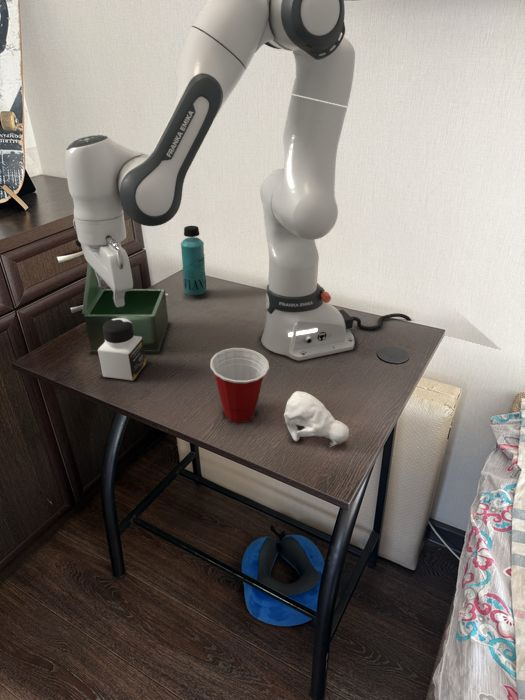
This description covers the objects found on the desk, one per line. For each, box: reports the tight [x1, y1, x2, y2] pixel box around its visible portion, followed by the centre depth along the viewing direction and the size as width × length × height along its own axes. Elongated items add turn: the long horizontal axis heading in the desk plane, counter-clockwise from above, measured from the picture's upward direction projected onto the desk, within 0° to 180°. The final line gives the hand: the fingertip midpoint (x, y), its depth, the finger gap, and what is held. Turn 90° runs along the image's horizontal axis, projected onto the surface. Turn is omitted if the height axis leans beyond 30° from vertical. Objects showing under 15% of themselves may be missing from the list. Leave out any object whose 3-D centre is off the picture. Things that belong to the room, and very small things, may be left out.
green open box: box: [84, 288, 169, 354], centre depth 120 cm, size 16×15×10 cm
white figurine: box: [283, 390, 350, 448], centre depth 90 cm, size 6×8×12 cm
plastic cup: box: [210, 347, 270, 423], centre depth 94 cm, size 11×11×12 cm
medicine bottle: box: [97, 318, 147, 381], centre depth 107 cm, size 7×7×12 cm
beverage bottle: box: [180, 225, 207, 296], centre depth 138 cm, size 6×7×20 cm
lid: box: [75, 238, 102, 315], centre depth 113 cm, size 16×15×5 cm
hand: (111, 296), depth 101 cm, fingers open, 8 cm apart
